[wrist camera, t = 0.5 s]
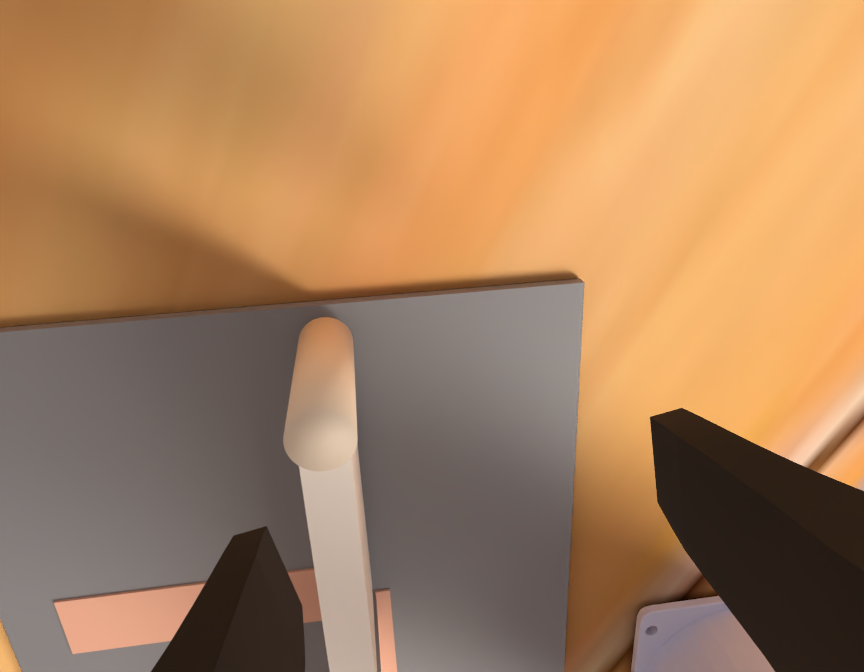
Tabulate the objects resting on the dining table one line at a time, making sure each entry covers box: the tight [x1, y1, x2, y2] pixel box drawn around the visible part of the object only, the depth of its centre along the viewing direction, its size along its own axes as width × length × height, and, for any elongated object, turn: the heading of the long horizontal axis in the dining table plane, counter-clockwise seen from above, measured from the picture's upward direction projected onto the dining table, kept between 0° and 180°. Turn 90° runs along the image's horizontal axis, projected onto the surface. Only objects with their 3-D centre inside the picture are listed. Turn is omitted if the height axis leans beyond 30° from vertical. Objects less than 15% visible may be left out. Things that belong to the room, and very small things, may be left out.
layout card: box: [0, 279, 584, 672], centre depth 23 cm, size 22×20×1 cm
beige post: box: [283, 317, 381, 672], centre depth 18 cm, size 12×2×5 cm, turn 3°
